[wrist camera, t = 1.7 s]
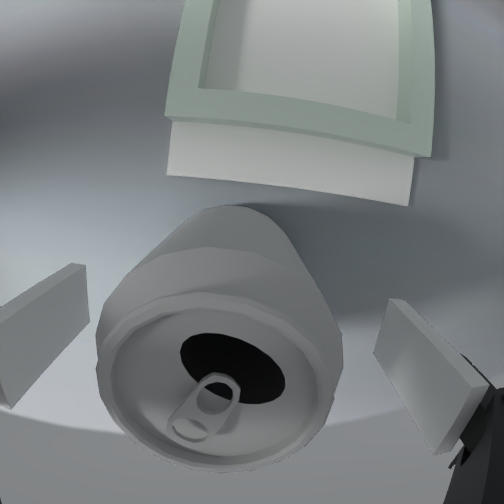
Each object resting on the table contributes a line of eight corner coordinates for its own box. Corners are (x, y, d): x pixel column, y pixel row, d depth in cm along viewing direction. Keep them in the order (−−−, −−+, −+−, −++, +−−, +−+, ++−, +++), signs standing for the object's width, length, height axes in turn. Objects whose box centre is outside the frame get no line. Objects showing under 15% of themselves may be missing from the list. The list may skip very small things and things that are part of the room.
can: (320, 251, 19) (417, 369, 7) (247, 344, 20) (249, 508, 8) (212, 177, 17) (149, 192, 6) (146, 281, 19) (47, 411, 7)
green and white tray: (169, 174, 17) (157, 175, 15) (218, -82, 12) (216, -102, 10) (403, 205, 18) (423, 211, 15) (407, -46, 13) (420, -61, 11)
